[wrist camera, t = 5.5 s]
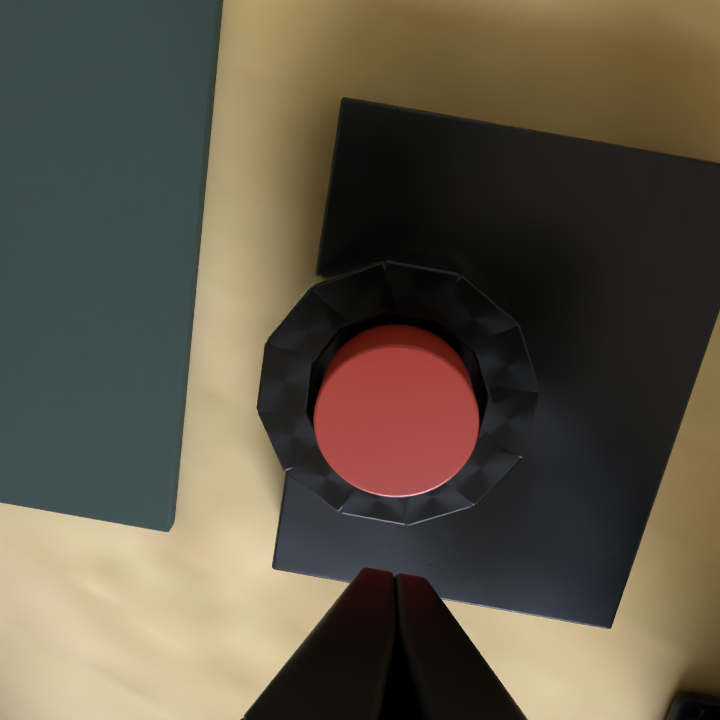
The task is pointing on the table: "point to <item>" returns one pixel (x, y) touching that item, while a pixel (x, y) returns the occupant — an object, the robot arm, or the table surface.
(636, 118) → the table surface
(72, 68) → the mat
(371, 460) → the button
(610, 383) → the control block
